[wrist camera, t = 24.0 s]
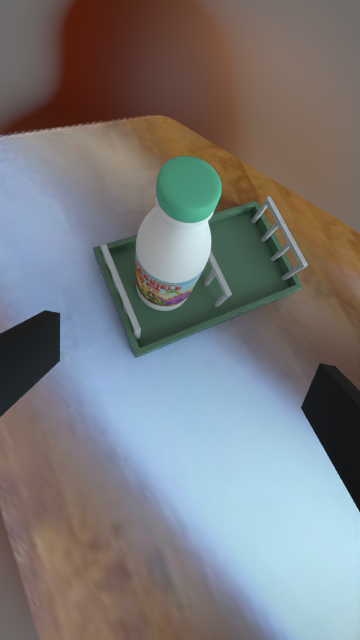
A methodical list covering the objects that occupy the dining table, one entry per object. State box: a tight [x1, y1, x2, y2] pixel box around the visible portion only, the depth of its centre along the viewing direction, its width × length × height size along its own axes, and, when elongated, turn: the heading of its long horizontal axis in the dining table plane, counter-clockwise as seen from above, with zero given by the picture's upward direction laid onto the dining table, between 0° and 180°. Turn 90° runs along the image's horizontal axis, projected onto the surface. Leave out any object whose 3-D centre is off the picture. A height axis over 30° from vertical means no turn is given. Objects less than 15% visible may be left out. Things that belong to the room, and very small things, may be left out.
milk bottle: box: [136, 156, 221, 311], centre depth 27 cm, size 8×8×20 cm
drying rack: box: [93, 196, 308, 358], centre depth 36 cm, size 27×16×6 cm, turn 114°
